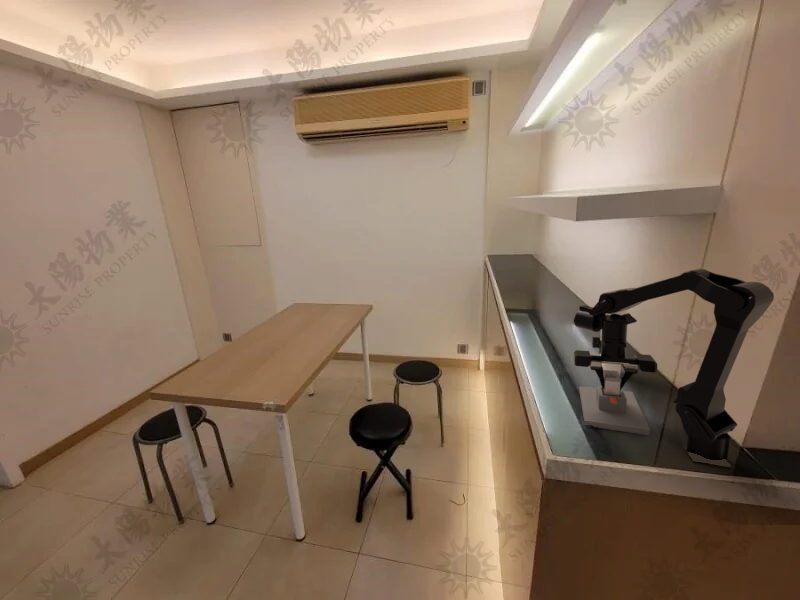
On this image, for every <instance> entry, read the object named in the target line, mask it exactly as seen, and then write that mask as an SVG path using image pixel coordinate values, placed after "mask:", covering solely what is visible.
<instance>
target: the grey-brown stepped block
mask: <svg viewBox="0 0 800 600" xmlns="http://www.w3.org/2000/svg"><path fill="white" fill-rule="evenodd" d="M603 373H604V384H605V385H604V389H603V395H607V396H616V397H619V396H620V382H621V378H620V375H619V373H618V371H610V370H603Z"/></svg>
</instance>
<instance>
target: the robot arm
mask: <svg viewBox="0 0 800 600" xmlns="http://www.w3.org/2000/svg"><path fill="white" fill-rule="evenodd" d="M684 291H690V292H693V293H694V294H696V295H697V297H700V298H701V299H702V300H704V301H706V302H707V303H710V304H712V305H714V308H713V315H714V320H715V324H716V325H715V328H714V331H713V334H712V336H711V339H710V341H709V344H708V346H707V349H706V352H705V355H704V357H703V359H702V363H701V365H700V368H699V370H698V372H697V376H696V377H695V380H694V381H693V382H690V383H687V384H685V385H682V386H680V387H679V388H678V390H677V396H676V398H675V400H673V402H672V403H673V404H675V412H676V413H677V415H678V416H679V418H680V421H681V424H682V427H683V430H684V431H683V438H682V443H683V445H682V447H683V450H684V449H685V450H686V451H685V450H684V451H685V453H686V452H691V453H694V454H697V455H700V456H702V457H704V458H706V459H710V460H722V459H726V460H728V461H729V453H730V446H731V436H730V435H729V434H728V433H730V432H733V431H734V429H736V428H737V426H738V423H737V421H735V420H734V418H733V417H732V416H731V415H730V413H728V412H727V410H726V409H725V407H726V401H727V400H726V395H725V392H724V388H725V386H726V384H727V380H728V379H729V376H730V374H731V371H732V369H733V367H734V364H735V362H736V359H737V357H738V355H739V352H740V350H741V349H742V348H741V347H742V346H743V343H744V341H745V339H746V336H747V333H748V332H749V330H750V329H751V327H753V325H754V324H756V322H757V321H759V320H760V319H761V317H762V316H763V315H764V314H765V313H766V311H767V310H768V308H769V307H770V306H771V304H772V303H773V302H774V298H775V296H774V292H773V290H772V289H770V287H769V286H767V285H766V284H764V283H762V282H759V281H758V282H757V281H744V280H742V279H739V278H737V277H732V276H727V275H722V274H719V273H716V272H713V271H709V270H707V269H704V268H696V269H691V270H687V271H684V272H682V273H681V274H676V275H673V276H671V277H668V278H664V279H661V280H657V281H653V282H651V283H647V284H645V285H641V286H638V287H629V288H622V289H621V288H620V289H617V290H611V291H606V292H603V293H600V295H599V298H598V302H596V304H595V305H594V306H589V305H586V304H584V305H580V306H579V309H578V311H577V312H576V313H575V316H574V317H573V324H574V326H575V327H576V328H579V329H583V330H586V331H587V330H588V331H590V332H594V333H599V332H600V336H599V337H598V336H592V337H591V346H592V347H591V348H593V349H598V354H599V355H595V354H594V355H593V354H591V353H590V351H589V350H579V349H578V350H577V349H576V350H574V351H573V363H574V366H576V367H584V368H588V367H589V368H590V370H591V371H594V372H595V373H596V375H597V377H598V379H599V382H600V386H602V389H604V385H605V384H604V373H603V367H602V363H609V364H621V371H620V378H621V382H620V391H621V389H623V388H624V386H625V385H626V383H627V382H628V380H629V379H630V378H631V377H632V376H633V375H638V374H639V371H638V369H639V370H640V371H642V373H654V374H655V373H657V372H658V363H657V362H656V360H655V358H654V356H652V355H650V354H643V353H642V354H638V353H634V355H633V357H626V353H627V336H628V325H631V324H634V323H635V324H636V323H637V319H636V318H635V317H633V315H631V313H630V312H627V314H624V315H620V314H613V313H617V312H621V311H625V310H627V311H628V310H630V309H632V308H635V307H637V306H639V305H641V304H642V303H644V302H646V301H650V300H654V299H658V298H661V297H665V296H668V295H673V294H676V293H680V292H684ZM606 313H607V314H611V315H606ZM601 329H602V332H601ZM600 354H601V356H600Z"/></svg>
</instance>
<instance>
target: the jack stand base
mask: <svg viewBox="0 0 800 600" xmlns="http://www.w3.org/2000/svg"><path fill="white" fill-rule="evenodd" d="M578 390H579V397H580V403H581V409H582V414H583V421H585V422H584V425H585V424H587V425H592V426H594V427H593V428H597V427H598V428H599V429H606V430H611V431H617V432H618V431H619V432H625V433H632V434H638V435H645V436H646V435H647V436H650V434H651V429H650V426H649V425H648V422H647V420H646V418H645V416H644V414H643V411H642V410H641V407H640V405H639V403H638V400H637V398H636V397H635V395H634V392H633V391H627V390H623V388H622V389H621V391H620V396H619V397H616V396H607V395H603V389H602V386H601V385H596V387H590V386H579V389H578ZM598 428H597V429H598Z"/></svg>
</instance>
